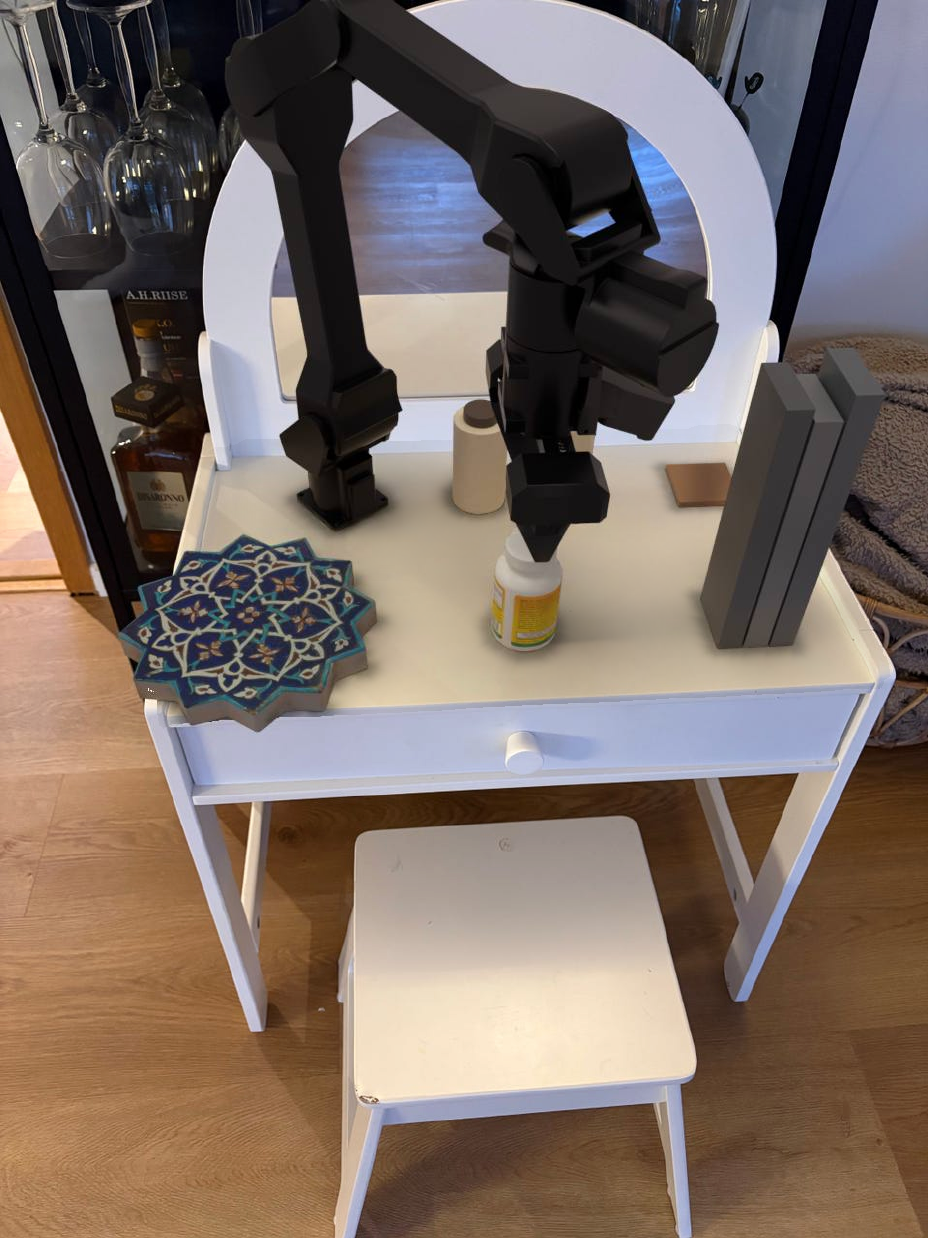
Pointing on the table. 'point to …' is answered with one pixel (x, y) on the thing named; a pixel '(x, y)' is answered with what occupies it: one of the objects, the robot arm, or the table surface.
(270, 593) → the decorative tile
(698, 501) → the oak coaster
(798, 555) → the grey grooved column
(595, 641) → the table surface
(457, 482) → the cream bottle
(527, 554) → the supplement bottle
